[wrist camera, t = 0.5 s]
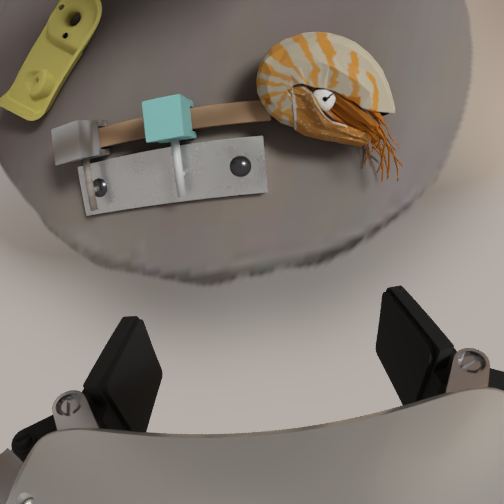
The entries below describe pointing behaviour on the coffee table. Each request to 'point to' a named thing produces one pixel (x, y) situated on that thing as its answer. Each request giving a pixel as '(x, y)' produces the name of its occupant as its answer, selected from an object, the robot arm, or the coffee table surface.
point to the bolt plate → (163, 178)
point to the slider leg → (170, 128)
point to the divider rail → (138, 134)
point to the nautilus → (327, 91)
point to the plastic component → (52, 59)
